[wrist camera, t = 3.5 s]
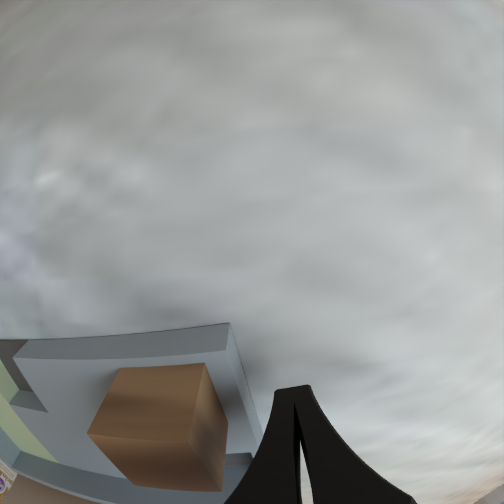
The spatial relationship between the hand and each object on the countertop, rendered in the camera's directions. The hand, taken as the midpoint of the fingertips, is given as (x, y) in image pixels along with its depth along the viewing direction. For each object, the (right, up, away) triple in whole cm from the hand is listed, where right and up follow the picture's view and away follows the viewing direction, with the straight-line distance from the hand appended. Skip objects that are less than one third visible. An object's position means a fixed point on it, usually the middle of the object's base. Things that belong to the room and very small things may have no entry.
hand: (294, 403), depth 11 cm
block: (-5, -1, +1) cm, 5 cm away
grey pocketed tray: (-13, -5, +5) cm, 15 cm away
